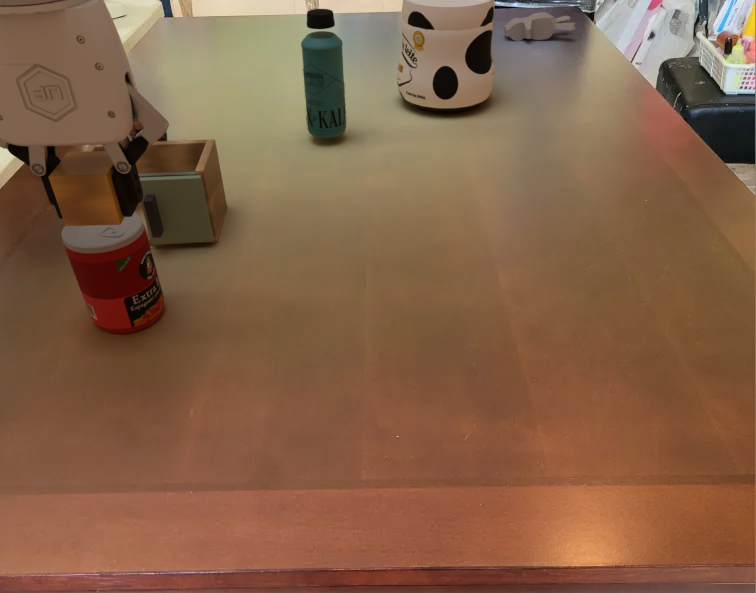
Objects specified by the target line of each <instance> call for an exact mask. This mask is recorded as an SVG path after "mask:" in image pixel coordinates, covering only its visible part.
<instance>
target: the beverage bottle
mask: <svg viewBox="0 0 756 593" xmlns="http://www.w3.org/2000/svg"><path fill="white" fill-rule="evenodd" d="M334 15H335V14H334V11H333V10H331V9H330V8H329V9H328V8H313V9H309V10H308V11H306V27H307V28H308V29H310V30H318V31H312V32H309V33H308V34H307V35H306V36H305V37H304V38H303V39H302V40H301V42H300V47H301V55H302V76H303V88H304V90H303V91H304V99H305V109H304V110H305V112H306V115H305V119H306V125H307V130H308V133H309V135H311V136H312V137H315V138H319V139H331V138H337V137H339V136H341V135H343V134H344V133H345V132H346V129H347V125H348V123H347V118H348V116H347V109H346V106H347V103H346V94H347V93H346V85H345V76H344V75H345V74H344V57H343V56H344V54H343V40H342V39H341V38H340V37H339V36H338V35H337V34H336V33H334V32H332V31H328V29H331V28H333V27H336V26H335V25H336V24H335V23H336V22H335V16H334ZM326 30H327V31H326Z"/></svg>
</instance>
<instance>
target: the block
mask: <svg viewBox="0 0 756 593" xmlns="http://www.w3.org/2000/svg"><path fill="white" fill-rule="evenodd" d="M60 160H61V162H60V163H59V164H58V165H57V167H56V168H55V169H54V170H53V172H52V173H51V174H50V175H49V180H50V183H51V186H52V189H53V191H54V194H55V197H56V200H57V203H58V206H59V208H60V211H61V214H62V217H63V219H62V220H63V223H64V225H65V226H89V225H120V224H121V223H122V221H123V219H124V215H122V212H121V208H120V205H119V201H118V198H117V194H116V191H115V187H114V184H113V181H112V174H113V173H114V171H115V168H114V165H113V163H112V161H111V160H110V158H109V156H108V154H107V153H106V151H87V152H84V151H68V152H67V153H66V154H65V155H64V157H63V158H62V159H60Z"/></svg>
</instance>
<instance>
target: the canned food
mask: <svg viewBox="0 0 756 593" xmlns="http://www.w3.org/2000/svg"><path fill="white" fill-rule="evenodd" d="M60 236H61V239H62V243H63V246H64V250H65V252H66V256H67V258H68V260H69V263H70V266H71V269H72V271H73V274H74V276H75V279H76V282H77V285H78V288H79V290H80V293H81V296H82V298H83V301H84V303H85V304H84V305H85V306H86V309H87V311H88V314H89V317H90V319H91V320H92V322H93V323H94V324H95V325H96V326H97V327H98V329H100V330H101V331H104V332H107V333H111V334H129V333H135V332H138V331H141V330H143V329H146V328H148V327H150V326H152V325H153V324H154V323H155V322H157V321H158V320H159V319H160V318H161V316H162V314H163V312H164V310H165V297H164V294H163V290H162V289H163V288H162V286H161V282H160V277H159V274H158V271H157V267H156V264H155V259H154V256H153V252H152V248H151V245H150V244H149V240H148V237H147V233H146V230H145V227H144V224H143V222H142V219H141V217H140V216H139V215H138V214H136V213H135V212H134V213H133V215H132V217H124V219H123V221H122V223H121V224H120V225H89V226H66V225H65V226H64V227H63V229H62V230H61V235H60Z"/></svg>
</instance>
